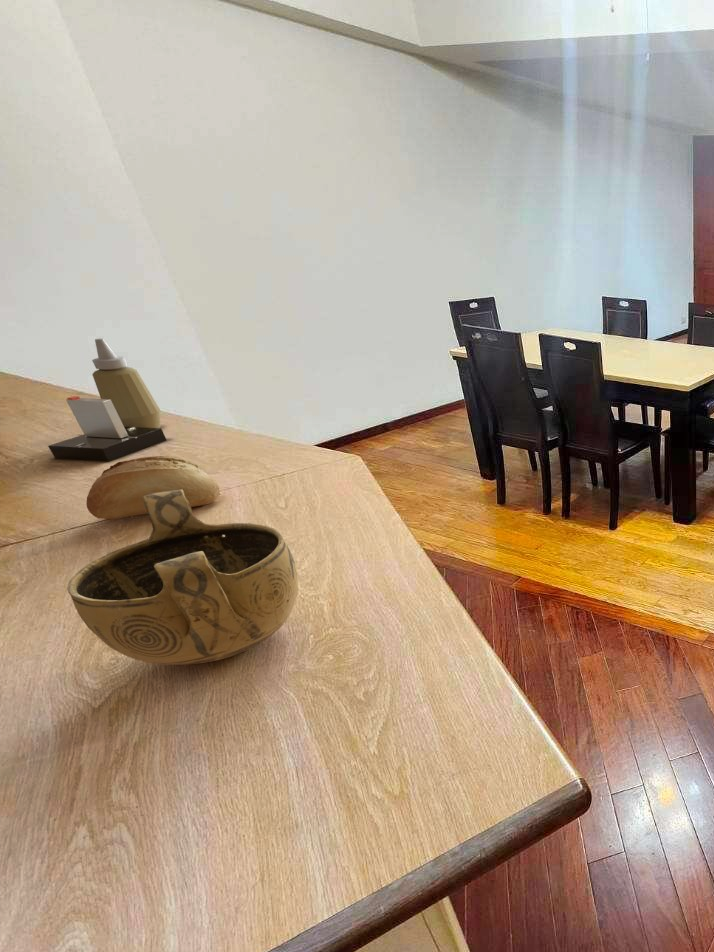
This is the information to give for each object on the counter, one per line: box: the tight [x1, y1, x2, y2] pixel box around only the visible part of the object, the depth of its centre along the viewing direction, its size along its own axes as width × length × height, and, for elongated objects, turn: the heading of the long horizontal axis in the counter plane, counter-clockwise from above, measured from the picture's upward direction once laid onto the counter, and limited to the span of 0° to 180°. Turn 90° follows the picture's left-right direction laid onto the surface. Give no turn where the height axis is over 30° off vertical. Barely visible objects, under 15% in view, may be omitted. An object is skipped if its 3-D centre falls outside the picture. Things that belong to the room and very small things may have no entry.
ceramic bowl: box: [66, 490, 299, 666], centre depth 61 cm, size 22×17×15 cm
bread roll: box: [86, 455, 221, 520], centre depth 90 cm, size 10×15×8 cm, turn 132°
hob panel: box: [47, 426, 167, 462], centre depth 112 cm, size 12×11×3 cm
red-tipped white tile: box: [65, 395, 128, 439], centre depth 109 cm, size 7×2×7 cm, turn 86°
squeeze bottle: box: [91, 338, 162, 428], centre depth 118 cm, size 8×8×18 cm
